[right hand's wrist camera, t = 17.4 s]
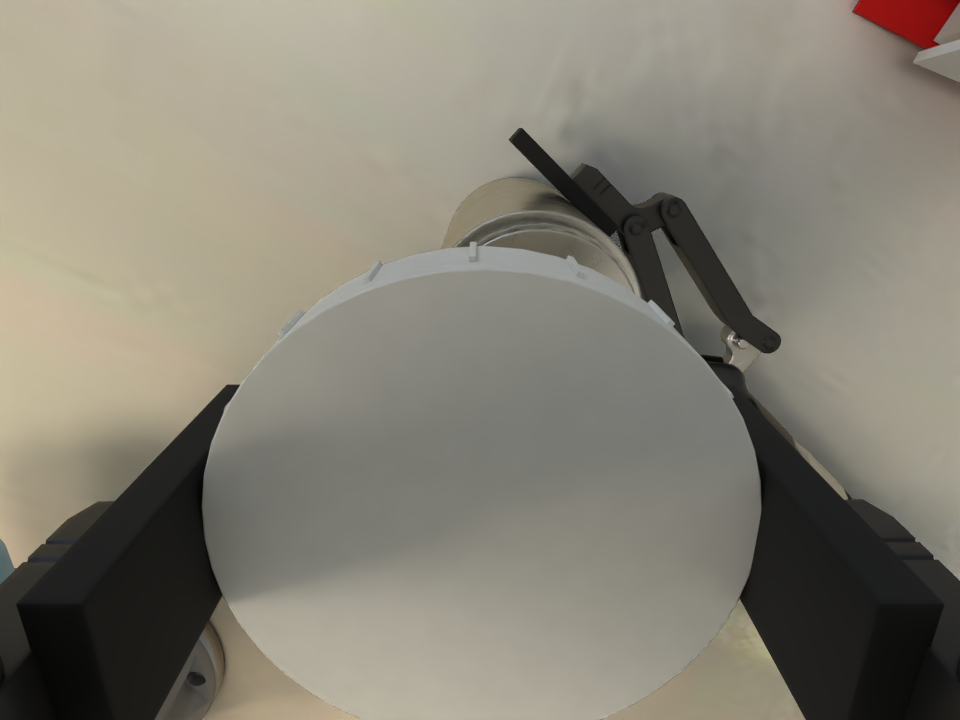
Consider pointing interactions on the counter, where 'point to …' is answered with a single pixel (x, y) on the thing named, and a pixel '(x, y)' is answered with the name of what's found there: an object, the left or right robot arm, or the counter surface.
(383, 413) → the lid
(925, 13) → the toy
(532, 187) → the jar
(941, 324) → the counter surface
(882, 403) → the counter surface
